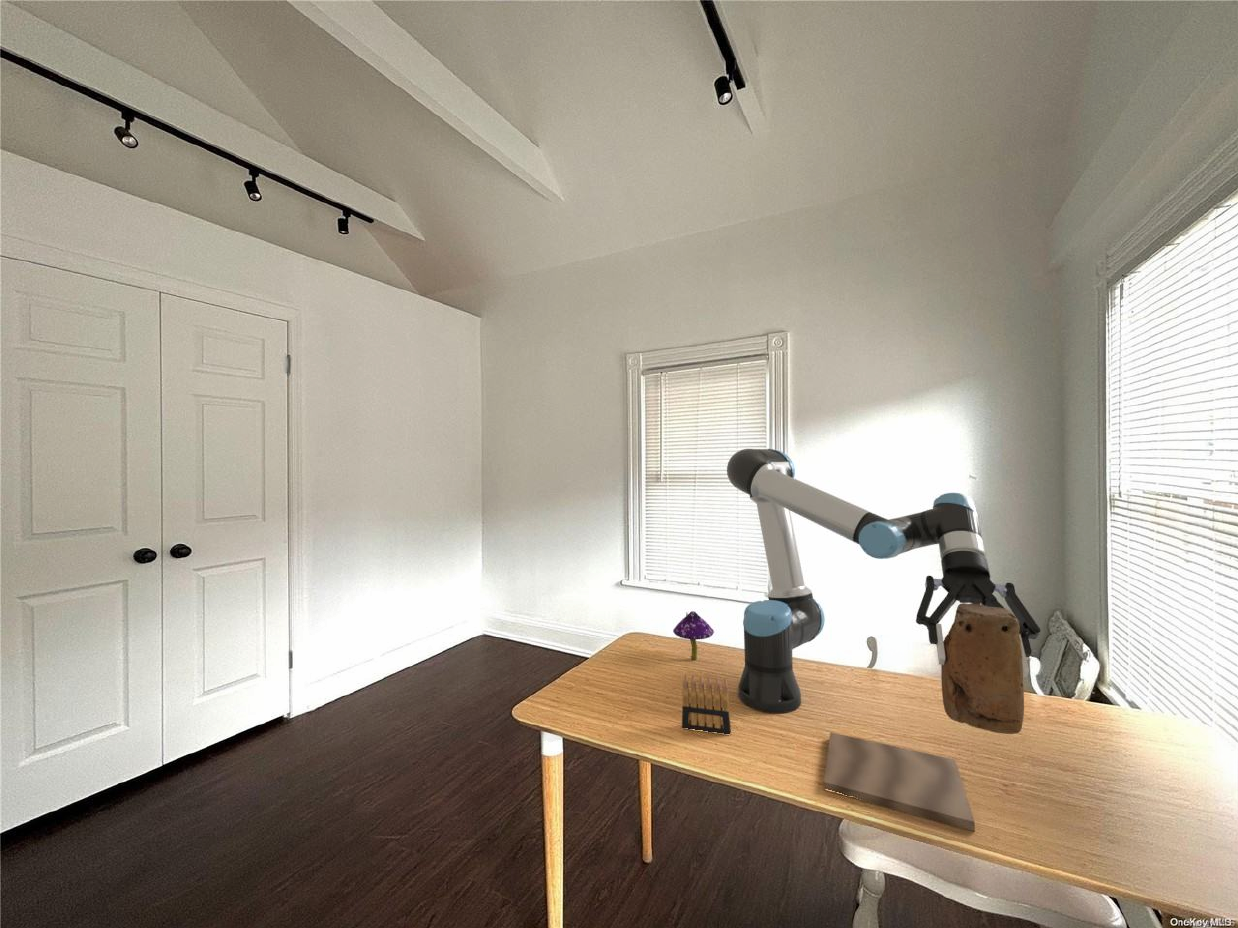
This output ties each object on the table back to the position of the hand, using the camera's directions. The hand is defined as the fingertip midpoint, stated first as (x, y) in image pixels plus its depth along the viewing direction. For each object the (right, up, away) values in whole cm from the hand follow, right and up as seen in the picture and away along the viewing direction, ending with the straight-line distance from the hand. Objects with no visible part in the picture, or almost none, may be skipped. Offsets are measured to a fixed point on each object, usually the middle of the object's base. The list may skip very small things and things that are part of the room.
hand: (981, 667), depth 80 cm
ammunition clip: (-43, -25, +25) cm, 55 cm away
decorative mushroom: (-39, -26, +64) cm, 79 cm away
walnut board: (-11, -24, +7) cm, 27 cm away
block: (+1, -10, +1) cm, 10 cm away
